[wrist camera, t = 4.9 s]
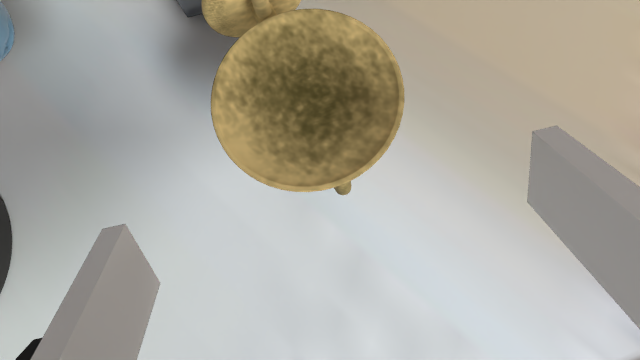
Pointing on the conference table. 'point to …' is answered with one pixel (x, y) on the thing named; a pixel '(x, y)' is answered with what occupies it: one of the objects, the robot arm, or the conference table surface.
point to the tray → (191, 7)
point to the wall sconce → (302, 94)
